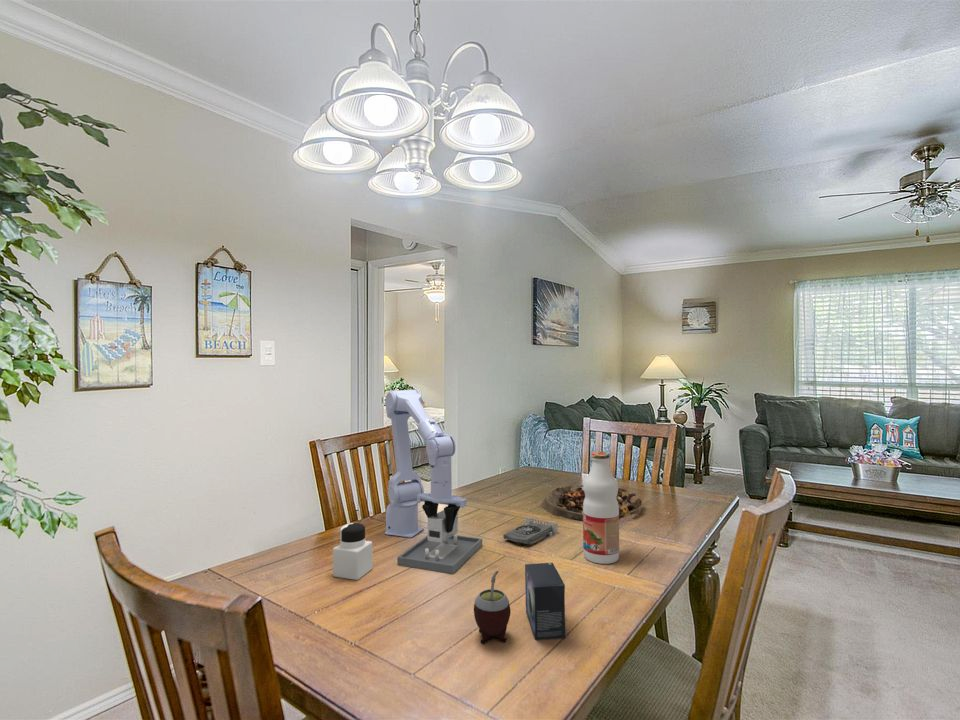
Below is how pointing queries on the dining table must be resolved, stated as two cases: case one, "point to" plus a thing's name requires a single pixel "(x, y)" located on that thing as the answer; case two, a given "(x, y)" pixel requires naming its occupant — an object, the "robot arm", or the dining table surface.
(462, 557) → the tray
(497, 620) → the mate gourd
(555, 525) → the graphics card
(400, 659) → the dining table surface
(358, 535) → the medicine bottle
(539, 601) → the small box
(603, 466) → the fruit juice
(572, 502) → the food dish
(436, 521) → the block
